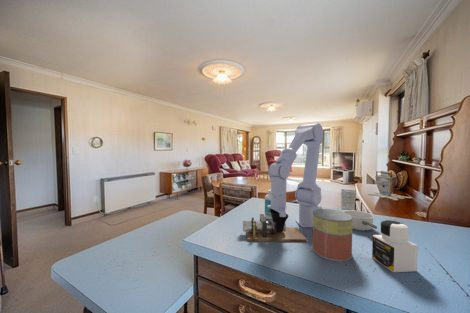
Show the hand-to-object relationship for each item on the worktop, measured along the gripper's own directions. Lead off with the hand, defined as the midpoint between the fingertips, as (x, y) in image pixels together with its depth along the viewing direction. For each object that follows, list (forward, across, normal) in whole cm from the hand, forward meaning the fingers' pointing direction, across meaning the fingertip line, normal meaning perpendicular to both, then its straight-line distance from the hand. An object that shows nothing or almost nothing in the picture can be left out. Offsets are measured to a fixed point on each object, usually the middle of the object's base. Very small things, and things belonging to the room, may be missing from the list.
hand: (278, 229), depth 73 cm
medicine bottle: (+2, +19, +28) cm, 34 cm away
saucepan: (+2, -5, +35) cm, 36 cm away
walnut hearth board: (+2, 0, -2) cm, 2 cm away
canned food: (+2, +12, +14) cm, 19 cm away
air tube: (+2, 0, -6) cm, 6 cm away
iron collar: (+2, 0, -6) cm, 6 cm away
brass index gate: (+2, 0, -10) cm, 10 cm away
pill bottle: (+2, -19, +2) cm, 19 cm away
